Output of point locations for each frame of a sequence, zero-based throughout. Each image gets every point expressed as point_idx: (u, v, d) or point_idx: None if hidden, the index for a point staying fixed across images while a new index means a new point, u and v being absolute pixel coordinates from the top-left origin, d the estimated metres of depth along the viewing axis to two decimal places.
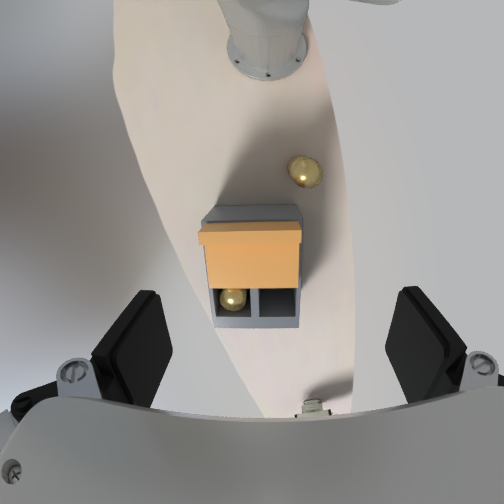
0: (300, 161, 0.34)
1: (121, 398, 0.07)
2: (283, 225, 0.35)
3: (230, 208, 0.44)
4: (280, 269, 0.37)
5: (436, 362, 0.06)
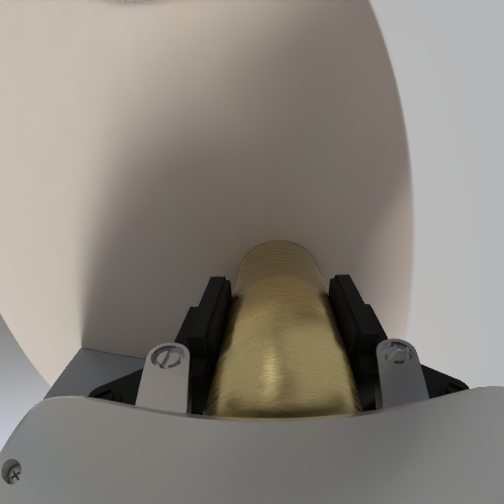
0: (241, 416, 0.05)
1: (210, 380, 0.08)
2: None
3: (99, 375, 0.14)
4: None
5: (349, 346, 0.07)
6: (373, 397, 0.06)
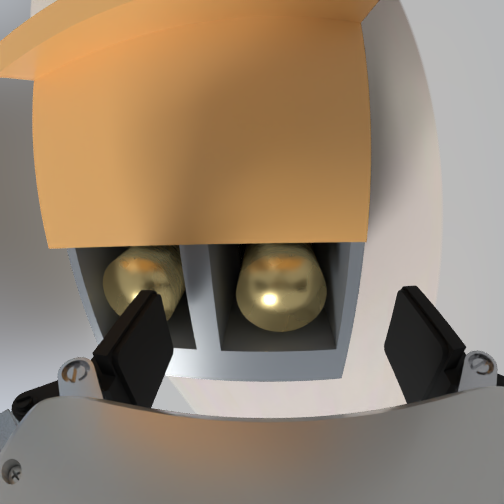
0: (260, 264, 0.12)
1: (122, 398, 0.07)
2: None
3: None
4: (292, 151, 0.08)
5: (435, 361, 0.06)
6: None
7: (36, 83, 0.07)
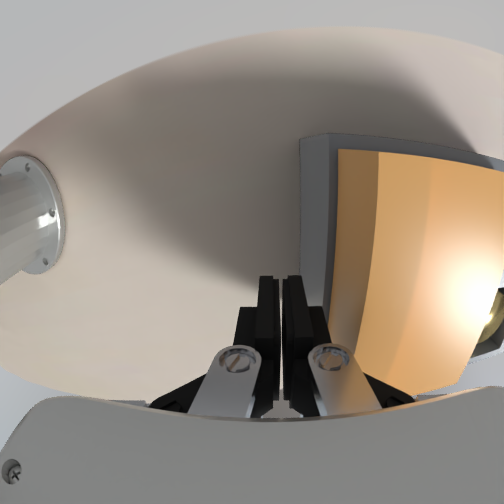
0: None
1: None
2: (352, 214, 0.08)
3: None
4: (478, 225, 0.09)
5: (286, 348, 0.08)
6: (309, 403, 0.07)
7: None
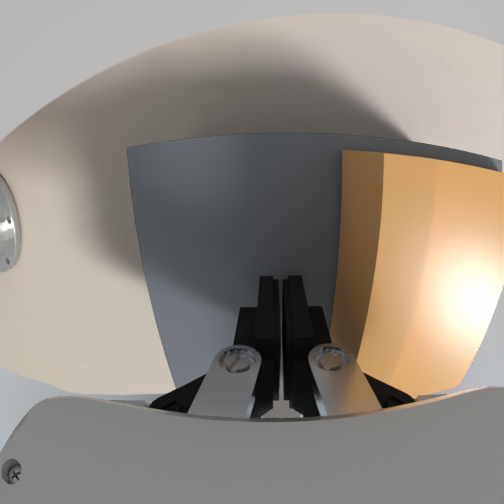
0: None
1: None
2: (356, 216, 0.08)
3: None
4: (482, 227, 0.08)
5: (286, 348, 0.08)
6: (309, 403, 0.07)
7: None
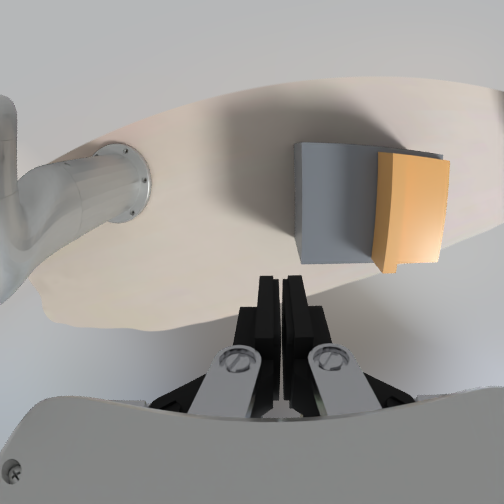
0: None
1: None
2: (384, 172, 0.25)
3: (296, 221, 0.37)
4: (430, 179, 0.25)
5: (286, 348, 0.08)
6: (309, 403, 0.07)
7: None
